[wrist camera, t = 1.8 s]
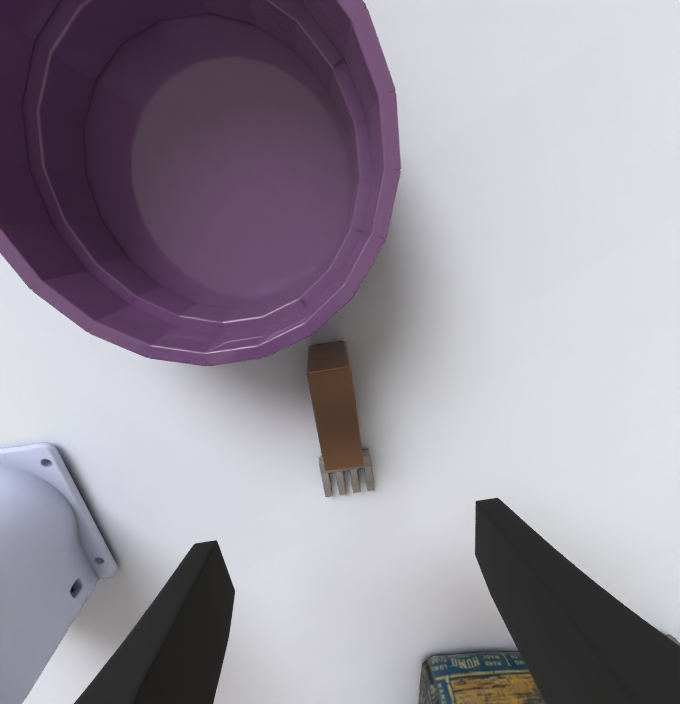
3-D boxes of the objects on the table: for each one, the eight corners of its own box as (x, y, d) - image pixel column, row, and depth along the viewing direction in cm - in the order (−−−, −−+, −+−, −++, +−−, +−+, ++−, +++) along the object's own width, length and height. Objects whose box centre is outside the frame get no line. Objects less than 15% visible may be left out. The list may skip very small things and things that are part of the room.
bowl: (384, 304, 16) (411, 336, 12) (132, 341, 16) (56, 389, 11) (354, -31, 12) (378, -194, 7) (11, 15, 12) (-188, -120, 7)
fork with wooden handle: (298, 347, 17) (294, 374, 14) (354, 338, 17) (362, 363, 14) (325, 491, 20) (326, 538, 17) (372, 484, 20) (382, 529, 17)
